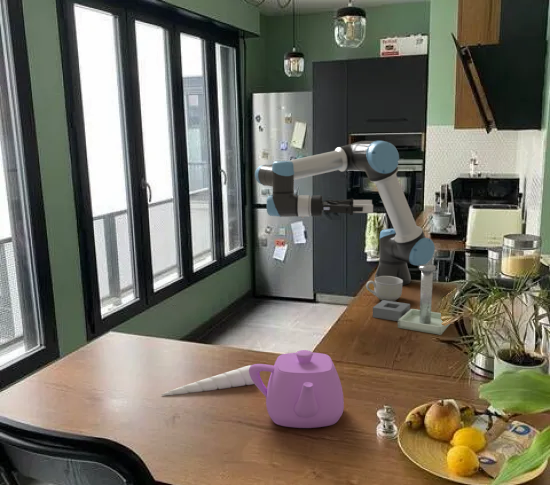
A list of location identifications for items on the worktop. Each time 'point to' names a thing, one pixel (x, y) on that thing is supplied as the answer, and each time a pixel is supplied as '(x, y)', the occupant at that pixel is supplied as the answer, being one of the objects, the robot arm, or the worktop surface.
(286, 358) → the teapot
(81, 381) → the worktop surface
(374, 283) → the teacup
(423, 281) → the pin
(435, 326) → the tray
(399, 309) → the socket block
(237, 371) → the unicorn horn
